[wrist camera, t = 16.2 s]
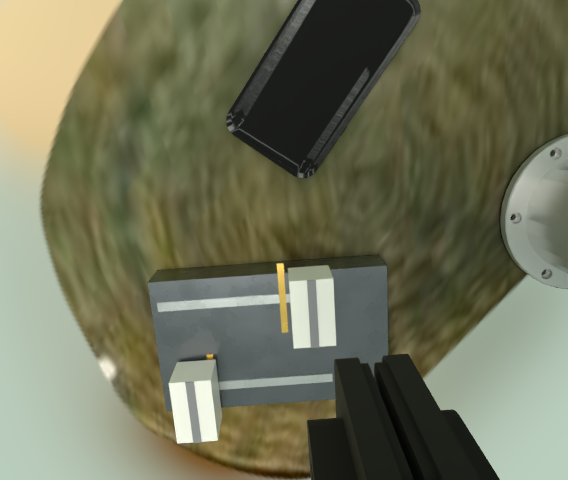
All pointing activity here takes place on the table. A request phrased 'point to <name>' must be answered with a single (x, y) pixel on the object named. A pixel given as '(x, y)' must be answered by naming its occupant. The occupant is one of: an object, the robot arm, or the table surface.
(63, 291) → the table surface
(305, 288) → the block
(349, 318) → the console
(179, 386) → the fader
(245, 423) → the table surface
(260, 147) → the phone
